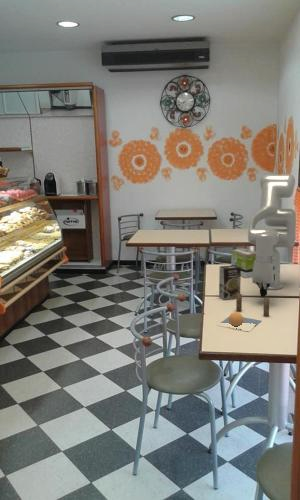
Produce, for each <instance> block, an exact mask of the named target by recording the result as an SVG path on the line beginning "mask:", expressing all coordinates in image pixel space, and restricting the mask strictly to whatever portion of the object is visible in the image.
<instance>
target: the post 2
mask: <svg viewBox="0 0 300 500" xmlns="http://www.w3.org/2000/svg"><path fill="white" fill-rule="evenodd" d="M262 315H263V317H266V318H268V317H270V298H269V297H263V313H262Z"/></svg>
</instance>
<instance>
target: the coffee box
mask: <svg viewBox="0 0 300 500" xmlns="http://www.w3.org/2000/svg"><path fill="white" fill-rule="evenodd" d="M218 270H219V276H218V277H219V279H218V281H219V284H218V285H219V286H218V288H219V289H218V290H219V291H218V297H219V298H221V300H223V301H228V300H236V294H241V281H242V279H241V278H242V276H241V267H239V266H236V265H221V266H219V269H218Z"/></svg>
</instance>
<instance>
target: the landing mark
mask: <svg viewBox="0 0 300 500" xmlns="http://www.w3.org/2000/svg"><path fill="white" fill-rule="evenodd" d="M261 322H262V320H259V319H256V318H255V319H254V318H249V317H244V316H243V323H250V324H251V323H253V324H256V326H258V325H259V324H260V323H261ZM220 323H229V324H230V322H229V316H228V317H226V318H225V319H224V320H222V321H221V322H220ZM258 323H259V324H258ZM257 324H258V325H257ZM236 329H237V328H236ZM236 329H235V330H236Z"/></svg>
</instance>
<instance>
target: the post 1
mask: <svg viewBox="0 0 300 500" xmlns="http://www.w3.org/2000/svg"><path fill="white" fill-rule="evenodd" d="M242 296H243V293H240V294H236V299H235V301H236V302H235V306H236V308H235V311H236V312H238V313H241V312H242V311H243V309H242V307H243V305H242V304H243V303H242V302H243V301H242V300H243V297H242Z"/></svg>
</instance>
